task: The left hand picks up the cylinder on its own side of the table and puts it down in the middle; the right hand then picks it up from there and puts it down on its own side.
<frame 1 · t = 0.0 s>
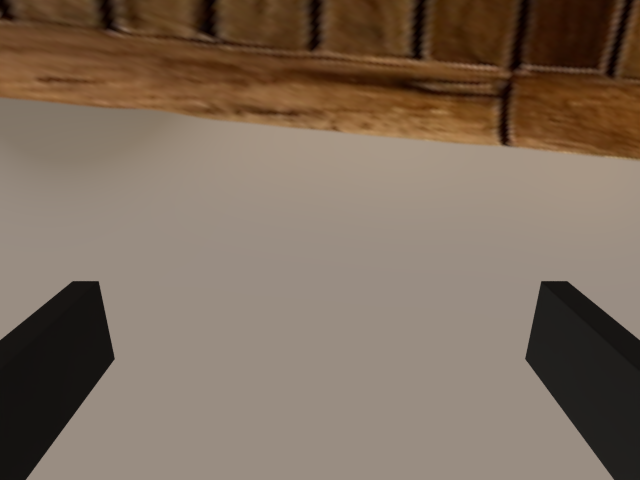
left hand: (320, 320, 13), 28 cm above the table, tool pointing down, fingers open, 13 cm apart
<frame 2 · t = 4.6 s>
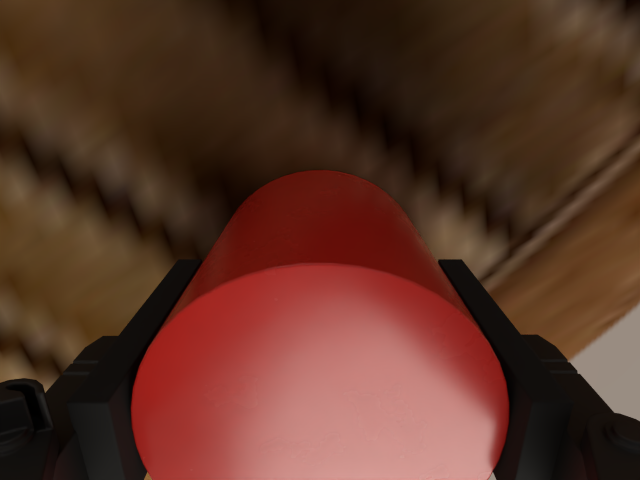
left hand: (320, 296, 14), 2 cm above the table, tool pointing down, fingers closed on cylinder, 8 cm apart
cylinder: (320, 269, 16), on the table, touching left hand
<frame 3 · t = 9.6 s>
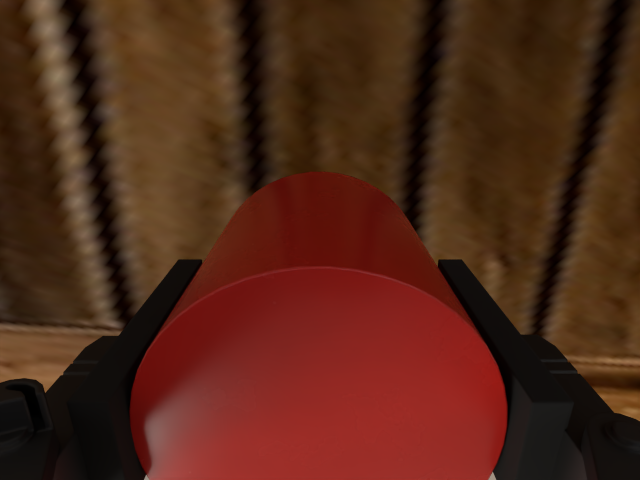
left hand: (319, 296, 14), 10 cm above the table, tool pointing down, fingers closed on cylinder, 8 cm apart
cylinder: (319, 270, 16), point 8 cm above the table, touching left hand
when the left hand's fingers open (4 cm above the table, at t = 14.8 s): cylinder drops 2 cm, on the table.
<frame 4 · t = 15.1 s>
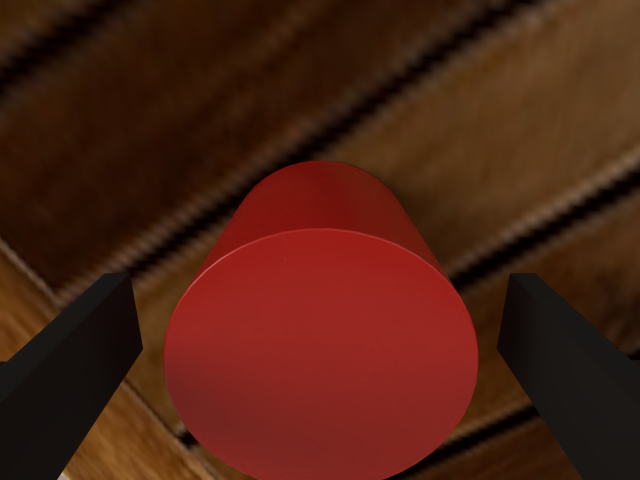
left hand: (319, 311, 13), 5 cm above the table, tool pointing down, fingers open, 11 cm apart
cylinder: (320, 251, 18), on the table
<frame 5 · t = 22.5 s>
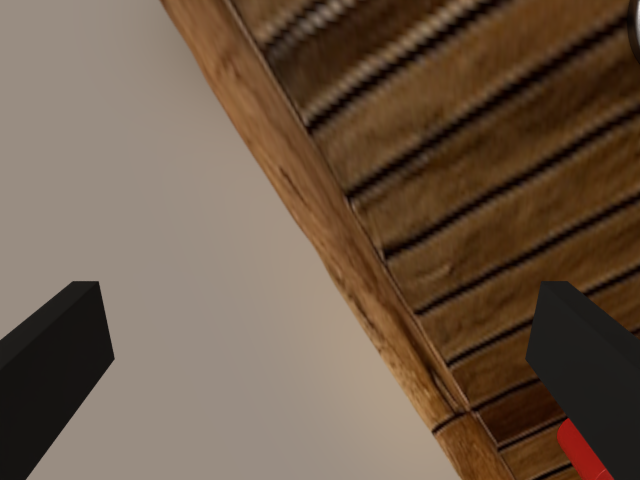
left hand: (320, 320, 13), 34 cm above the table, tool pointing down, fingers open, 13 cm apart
cylinder: (585, 432, 58), on the table, touching right hand
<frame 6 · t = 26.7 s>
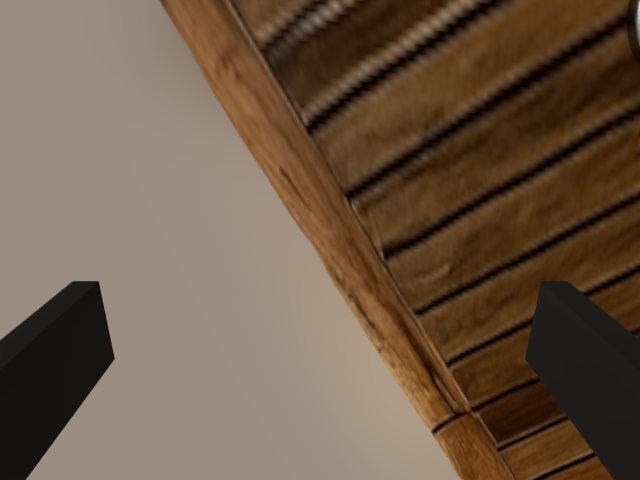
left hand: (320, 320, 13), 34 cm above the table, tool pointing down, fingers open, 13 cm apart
when the right hand's fingers open (4 cm above the table, at t = 31.0 s): cylinder drops 2 cm, on the table.
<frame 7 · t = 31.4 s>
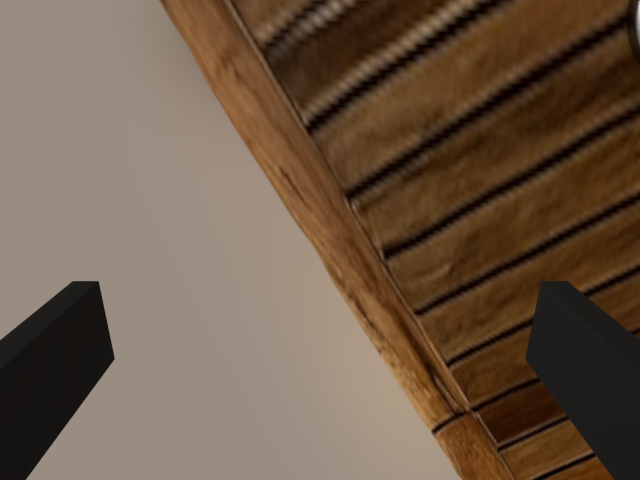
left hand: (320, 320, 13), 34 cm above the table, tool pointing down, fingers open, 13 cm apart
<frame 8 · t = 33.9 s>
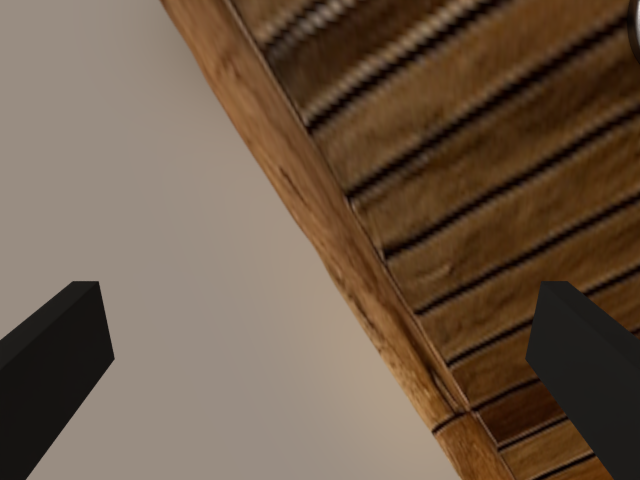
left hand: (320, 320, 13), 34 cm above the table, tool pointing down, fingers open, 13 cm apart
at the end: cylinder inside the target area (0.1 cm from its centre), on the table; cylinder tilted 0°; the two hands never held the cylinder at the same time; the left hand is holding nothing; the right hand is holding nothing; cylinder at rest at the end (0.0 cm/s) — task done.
